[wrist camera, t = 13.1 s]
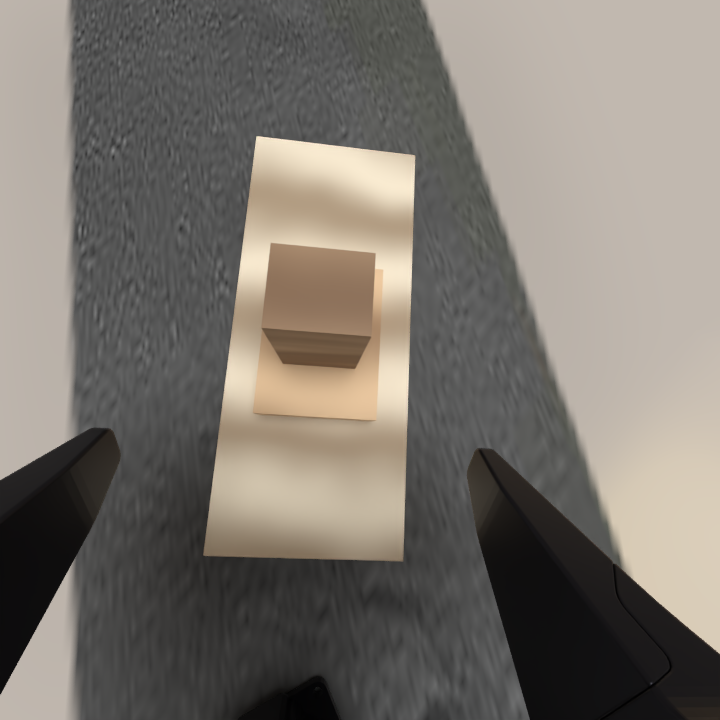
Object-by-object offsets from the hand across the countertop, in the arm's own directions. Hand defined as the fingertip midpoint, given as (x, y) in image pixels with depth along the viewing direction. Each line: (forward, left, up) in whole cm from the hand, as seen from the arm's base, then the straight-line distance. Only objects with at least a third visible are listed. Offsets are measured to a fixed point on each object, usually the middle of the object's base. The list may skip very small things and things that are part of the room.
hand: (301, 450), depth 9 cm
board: (+5, -3, -14) cm, 15 cm away
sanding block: (+5, -2, -11) cm, 12 cm away
